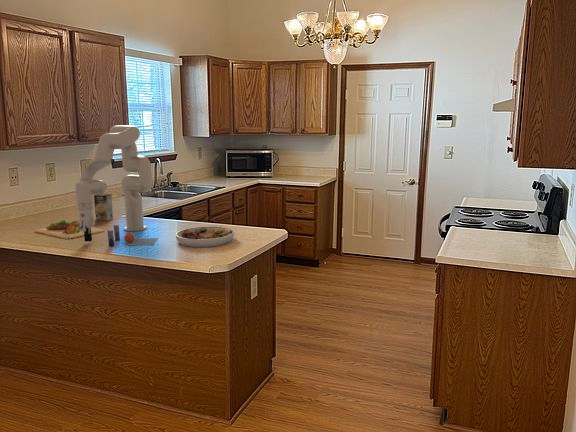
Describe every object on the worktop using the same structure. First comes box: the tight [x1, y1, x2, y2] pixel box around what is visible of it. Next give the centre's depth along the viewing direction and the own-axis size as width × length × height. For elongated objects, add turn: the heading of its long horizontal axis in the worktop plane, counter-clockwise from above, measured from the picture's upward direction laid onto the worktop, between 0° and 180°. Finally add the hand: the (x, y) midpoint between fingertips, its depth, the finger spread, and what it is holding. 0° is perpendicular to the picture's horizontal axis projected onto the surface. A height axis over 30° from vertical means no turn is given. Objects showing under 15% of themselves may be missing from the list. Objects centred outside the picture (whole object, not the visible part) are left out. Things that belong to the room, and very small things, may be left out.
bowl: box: [175, 225, 235, 248], centre depth 258 cm, size 30×30×8 cm
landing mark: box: [125, 237, 159, 247], centre depth 258 cm, size 14×14×1 cm
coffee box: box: [93, 193, 114, 221], centre depth 316 cm, size 9×6×16 cm
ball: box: [123, 232, 135, 243], centre depth 257 cm, size 5×5×5 cm
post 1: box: [107, 229, 115, 247], centre depth 250 cm, size 3×3×8 cm
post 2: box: [113, 224, 121, 242], centre depth 262 cm, size 3×3×8 cm
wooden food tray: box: [34, 219, 105, 240], centre depth 283 cm, size 35×23×8 cm
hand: (88, 240), depth 255 cm, fingers closed
